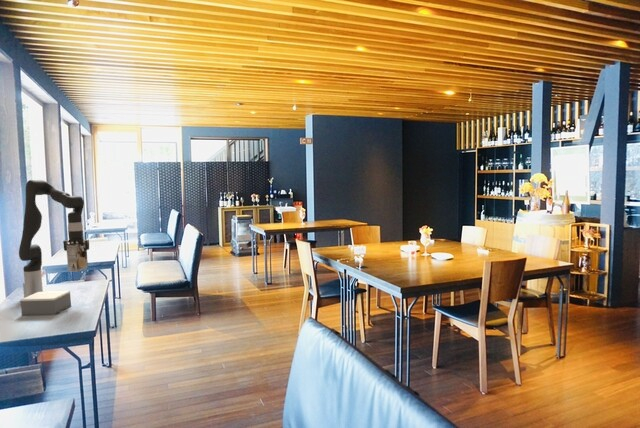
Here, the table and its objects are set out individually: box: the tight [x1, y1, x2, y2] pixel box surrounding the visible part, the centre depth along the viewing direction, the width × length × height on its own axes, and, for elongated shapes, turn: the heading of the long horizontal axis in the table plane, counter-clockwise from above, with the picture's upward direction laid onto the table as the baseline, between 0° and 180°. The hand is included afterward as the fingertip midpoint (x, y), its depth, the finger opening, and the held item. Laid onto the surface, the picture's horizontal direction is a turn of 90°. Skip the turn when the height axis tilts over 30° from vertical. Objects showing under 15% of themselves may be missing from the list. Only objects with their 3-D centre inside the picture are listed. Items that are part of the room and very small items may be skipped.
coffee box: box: [66, 242, 89, 272], centre depth 260 cm, size 9×6×16 cm
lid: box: [20, 290, 71, 302], centre depth 247 cm, size 18×16×1 cm
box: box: [20, 292, 72, 317], centre depth 247 cm, size 18×16×8 cm
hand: (77, 257), depth 260 cm, fingers closed on coffee box, 7 cm apart
